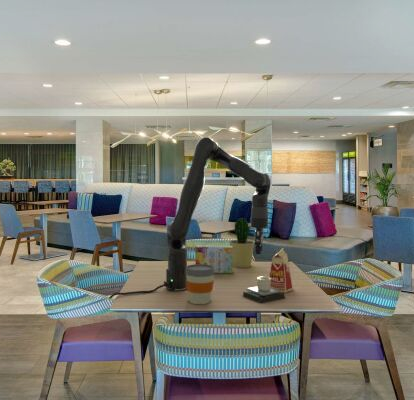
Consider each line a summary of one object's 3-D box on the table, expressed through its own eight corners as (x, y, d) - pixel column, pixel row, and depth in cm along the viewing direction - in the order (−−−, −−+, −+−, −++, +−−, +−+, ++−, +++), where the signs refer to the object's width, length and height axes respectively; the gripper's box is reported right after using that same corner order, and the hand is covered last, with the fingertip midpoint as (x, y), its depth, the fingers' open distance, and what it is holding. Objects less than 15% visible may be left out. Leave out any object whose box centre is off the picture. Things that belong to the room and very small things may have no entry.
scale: (260, 302, 175) (261, 296, 174) (243, 296, 185) (243, 290, 185) (284, 297, 182) (284, 291, 182) (266, 291, 192) (266, 285, 192)
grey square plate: (262, 295, 176) (262, 293, 176) (246, 289, 185) (246, 288, 185) (281, 292, 181) (281, 290, 181) (264, 286, 191) (264, 284, 191)
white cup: (263, 291, 179) (263, 280, 179) (254, 288, 184) (254, 277, 184) (273, 289, 182) (273, 278, 182) (264, 286, 187) (264, 276, 187)
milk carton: (276, 286, 202) (276, 246, 201) (293, 289, 196) (293, 248, 195) (267, 290, 195) (267, 248, 194) (284, 293, 189) (285, 250, 188)
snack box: (232, 271, 234) (232, 245, 233) (232, 273, 228) (232, 247, 228) (196, 270, 236) (196, 245, 235) (195, 272, 230) (195, 246, 230)
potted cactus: (255, 263, 256) (256, 216, 254) (252, 268, 241) (253, 218, 239) (231, 262, 260) (231, 215, 258) (227, 267, 245) (227, 217, 244)
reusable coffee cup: (212, 296, 184) (213, 264, 183) (215, 305, 171) (215, 270, 170) (185, 297, 183) (185, 264, 182) (185, 305, 171) (185, 270, 170)
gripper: (252, 215, 191) (251, 249, 191) (249, 217, 177) (248, 254, 178) (268, 215, 189) (268, 250, 190) (267, 218, 175) (266, 255, 176)
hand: (258, 252), depth 184 cm, fingers open, 8 cm apart
